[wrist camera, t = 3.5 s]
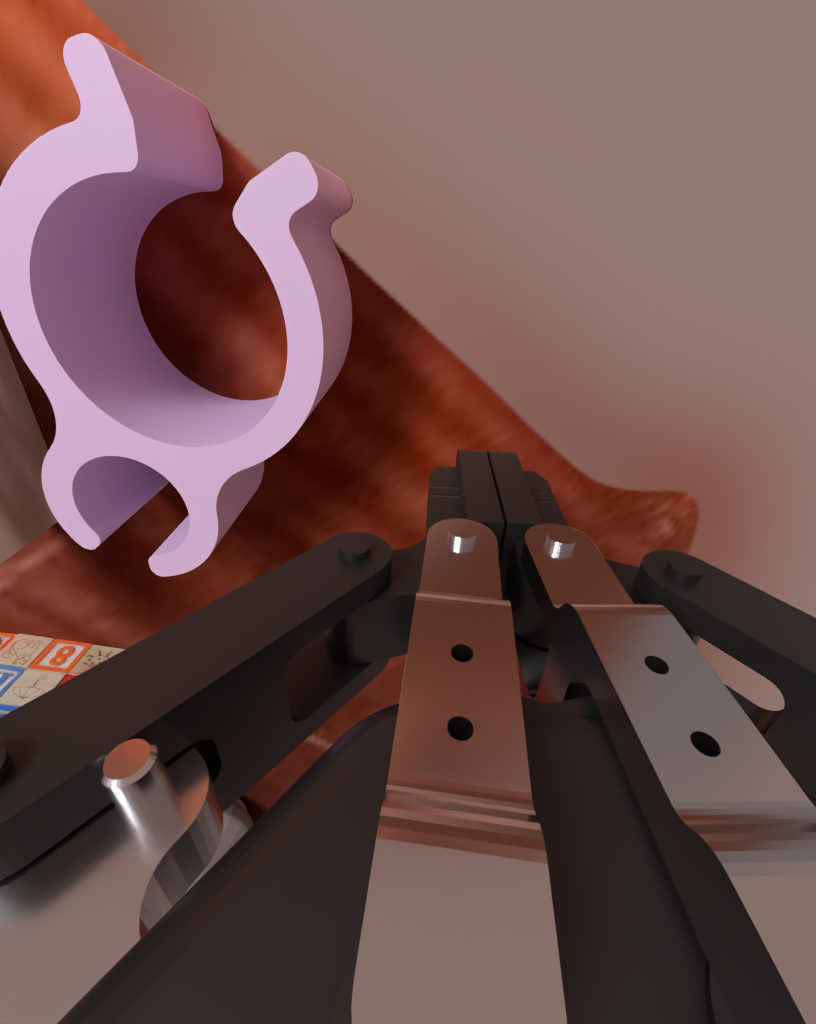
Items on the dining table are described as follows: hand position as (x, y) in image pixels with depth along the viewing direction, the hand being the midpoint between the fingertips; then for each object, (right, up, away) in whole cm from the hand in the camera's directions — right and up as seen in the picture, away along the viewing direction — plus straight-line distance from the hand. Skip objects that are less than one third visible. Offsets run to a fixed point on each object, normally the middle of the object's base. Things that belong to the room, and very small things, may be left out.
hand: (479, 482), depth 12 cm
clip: (-12, +8, +13) cm, 19 cm away
